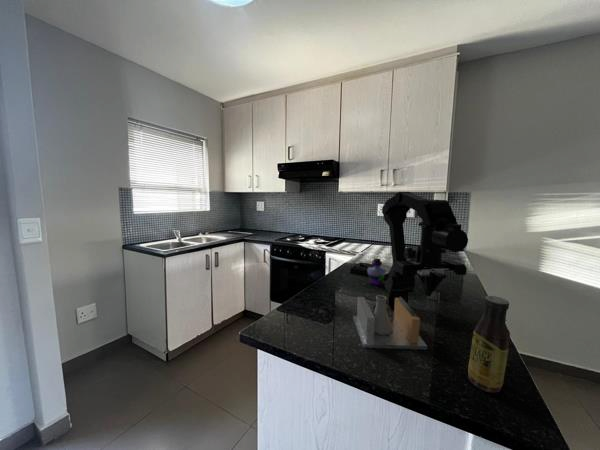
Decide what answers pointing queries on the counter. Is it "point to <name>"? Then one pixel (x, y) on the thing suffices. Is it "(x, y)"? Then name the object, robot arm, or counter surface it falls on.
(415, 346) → the vise base
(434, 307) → the counter surface
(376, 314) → the flask
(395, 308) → the block
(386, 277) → the multimeter
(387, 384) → the counter surface
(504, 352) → the sauce bottle
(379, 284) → the potion bottle
